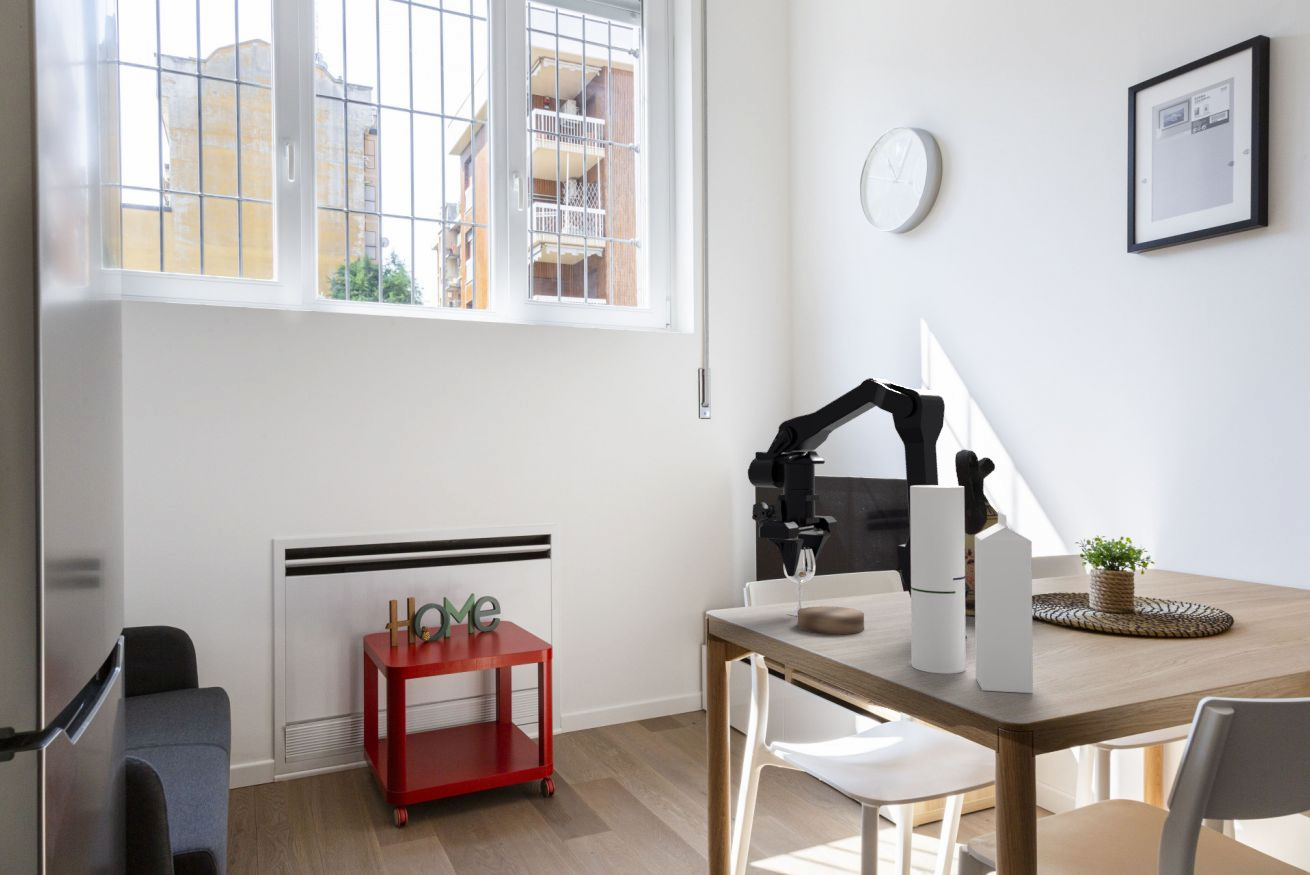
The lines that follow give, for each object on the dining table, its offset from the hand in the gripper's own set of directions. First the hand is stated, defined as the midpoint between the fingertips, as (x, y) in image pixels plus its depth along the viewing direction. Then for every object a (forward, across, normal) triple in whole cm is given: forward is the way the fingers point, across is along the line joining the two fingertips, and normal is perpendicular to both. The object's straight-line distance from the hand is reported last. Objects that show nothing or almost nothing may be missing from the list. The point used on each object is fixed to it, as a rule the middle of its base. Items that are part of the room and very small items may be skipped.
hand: (799, 574), depth 156 cm
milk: (+8, +25, +44) cm, 51 cm away
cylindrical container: (+7, +21, +34) cm, 41 cm away
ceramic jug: (+8, -21, +25) cm, 34 cm away
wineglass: (+7, 0, 0) cm, 7 cm away
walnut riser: (+7, +7, +10) cm, 14 cm away
